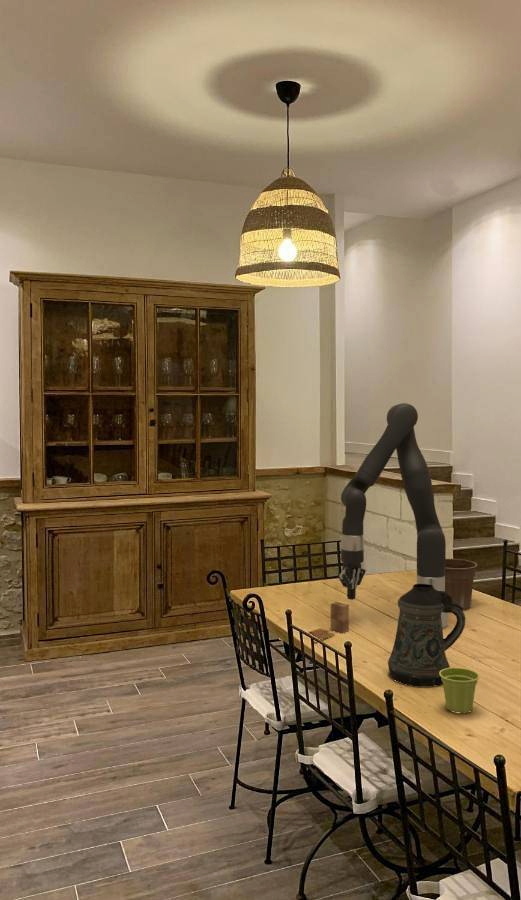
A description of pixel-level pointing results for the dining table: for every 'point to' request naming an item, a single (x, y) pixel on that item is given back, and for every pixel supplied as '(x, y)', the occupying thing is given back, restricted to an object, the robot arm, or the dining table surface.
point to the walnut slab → (340, 617)
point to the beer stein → (423, 636)
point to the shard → (321, 633)
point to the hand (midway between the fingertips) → (351, 599)
